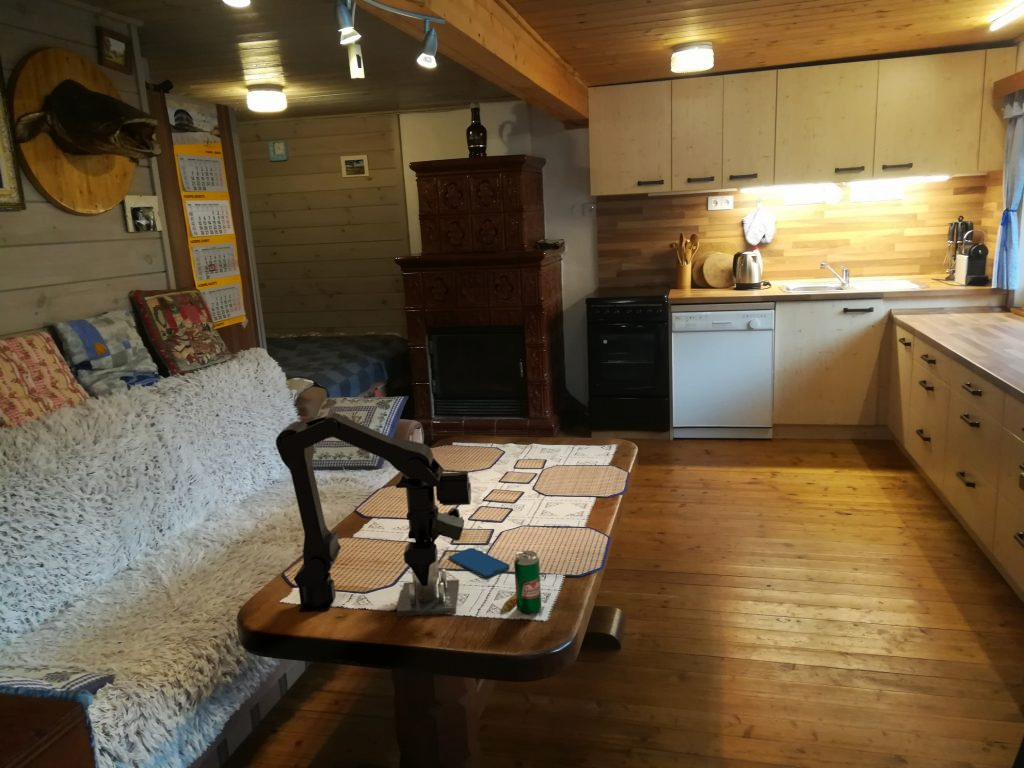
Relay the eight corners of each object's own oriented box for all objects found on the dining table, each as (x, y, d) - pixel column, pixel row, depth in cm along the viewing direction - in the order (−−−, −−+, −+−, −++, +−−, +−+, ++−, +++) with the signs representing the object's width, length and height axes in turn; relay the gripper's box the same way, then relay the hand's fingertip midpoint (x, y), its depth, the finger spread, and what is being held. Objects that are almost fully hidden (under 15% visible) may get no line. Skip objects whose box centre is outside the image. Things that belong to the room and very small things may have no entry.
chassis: (397, 616, 156) (395, 593, 155) (404, 587, 167) (402, 566, 166) (455, 613, 156) (454, 589, 155) (459, 584, 168) (457, 563, 166)
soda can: (524, 618, 153) (521, 563, 150) (512, 607, 157) (509, 553, 154) (546, 611, 155) (543, 556, 152) (533, 600, 159) (531, 547, 156)
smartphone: (471, 547, 185) (511, 565, 174) (471, 550, 185) (511, 569, 174) (446, 557, 180) (486, 576, 169) (447, 561, 181) (486, 580, 169)
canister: (415, 601, 159) (411, 557, 157) (417, 589, 164) (414, 546, 162) (440, 600, 159) (436, 556, 157) (442, 588, 164) (438, 545, 162)
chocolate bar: (537, 588, 165) (537, 578, 165) (510, 614, 155) (510, 604, 155) (527, 585, 166) (526, 576, 166) (499, 611, 156) (499, 601, 156)
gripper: (458, 521, 148) (463, 594, 151) (462, 487, 166) (467, 553, 169) (400, 524, 148) (407, 597, 151) (411, 490, 166) (417, 556, 169)
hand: (427, 575), depth 160 cm, fingers open, 9 cm apart
